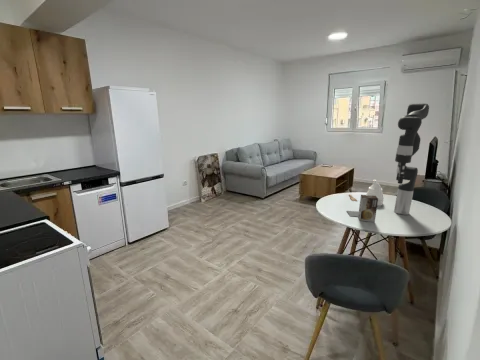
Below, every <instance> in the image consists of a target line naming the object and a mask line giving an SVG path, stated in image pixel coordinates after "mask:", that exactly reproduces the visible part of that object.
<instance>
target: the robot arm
mask: <svg viewBox="0 0 480 360" xmlns="http://www.w3.org/2000/svg"><path fill="white" fill-rule="evenodd" d="M429 110H430V105H429V104H428V103H423V102H422V103H421V102H420V103H418V102H417V103H410V104H409V105H408V106H407V109H406V115H403V116H401V117H400V118H399V119H398V122H397V127H398V129H399V130H402V131H404V134H400V136H399V139H398V144H397V148H396V151H395V152H396V153H395V159H394V161H395V162H396V163H397V167H396V181H397V184H399V185H398V186H397V193H396V198H395V202H394V203H395V204H394V210H393V212H394V213H395V214H399V215H404V216H408V215H410V213H411V212H410V211H411V206H412V201H413V196H414V189H415V184H416V181H417V176H418V173H419V170H418V168H417V167H415V166H414V167H413V166H407V164H410V163H412V157H413V156H414V155H416V153H417V152H418V151H419V149H420V145H421V136H420V135H419V133H418V131H419V129H420V127H421V126H422V123H423V122H422V120H424V119H426V118H427V117H428V115H429ZM403 181H409V182H406V183H403Z"/></svg>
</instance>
